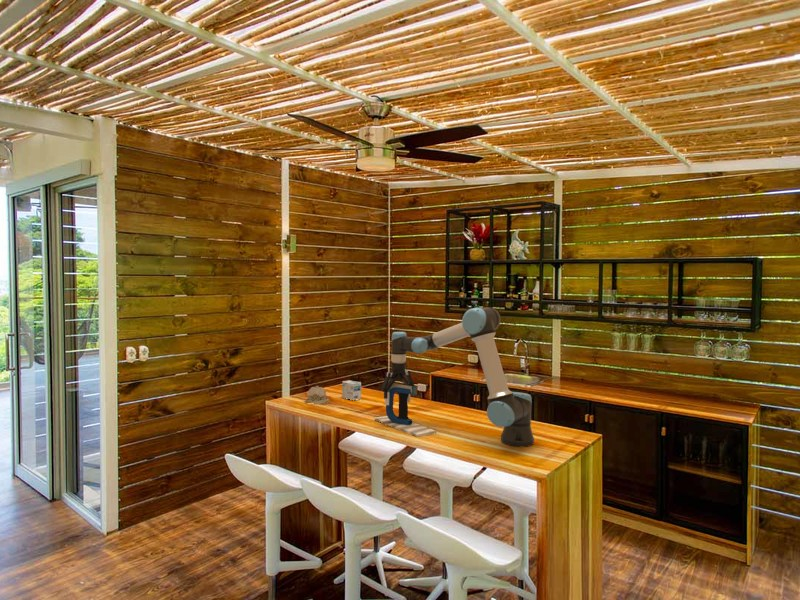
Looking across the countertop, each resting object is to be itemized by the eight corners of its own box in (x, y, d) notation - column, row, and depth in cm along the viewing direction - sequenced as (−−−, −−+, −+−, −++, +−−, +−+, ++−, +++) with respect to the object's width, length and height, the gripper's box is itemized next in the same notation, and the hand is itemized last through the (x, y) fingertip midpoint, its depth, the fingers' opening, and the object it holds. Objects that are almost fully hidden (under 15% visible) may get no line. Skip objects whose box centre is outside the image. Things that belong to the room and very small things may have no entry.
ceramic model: (303, 404, 315) (303, 387, 315) (307, 400, 326) (307, 383, 326) (327, 405, 314) (327, 388, 314) (330, 400, 326) (330, 384, 325)
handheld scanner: (412, 426, 267) (414, 386, 267) (384, 421, 275) (386, 382, 275) (416, 424, 271) (418, 385, 271) (388, 419, 279) (390, 381, 279)
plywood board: (436, 433, 261) (436, 430, 260) (416, 437, 253) (417, 434, 253) (392, 417, 289) (392, 414, 289) (374, 420, 282) (374, 417, 282)
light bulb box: (361, 399, 330) (361, 382, 330) (353, 401, 325) (353, 383, 324) (349, 396, 337) (349, 379, 337) (341, 398, 332) (341, 381, 332)
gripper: (413, 359, 285) (412, 399, 286) (374, 362, 270) (373, 404, 271) (422, 361, 279) (421, 401, 280) (382, 364, 264) (381, 407, 265)
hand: (397, 403), depth 276 cm, fingers open, 13 cm apart
